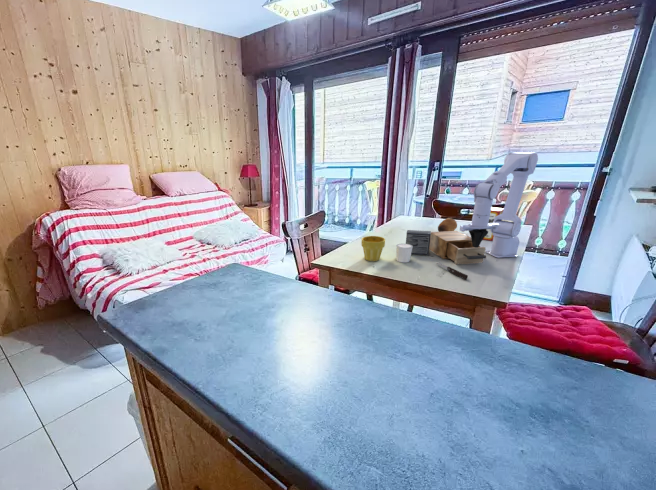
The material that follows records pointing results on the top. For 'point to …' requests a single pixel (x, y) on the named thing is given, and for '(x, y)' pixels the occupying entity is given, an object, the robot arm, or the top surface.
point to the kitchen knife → (452, 271)
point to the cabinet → (445, 241)
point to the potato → (447, 225)
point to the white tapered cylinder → (403, 252)
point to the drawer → (465, 252)
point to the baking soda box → (493, 214)
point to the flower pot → (372, 247)
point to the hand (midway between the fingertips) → (475, 246)
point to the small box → (419, 241)
